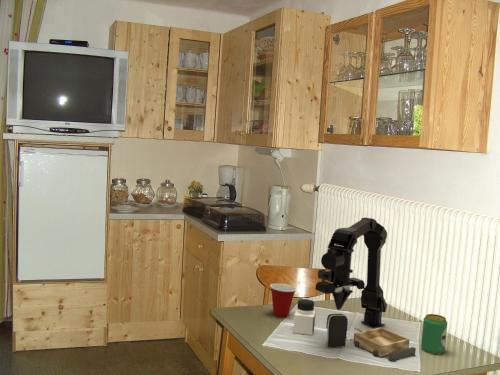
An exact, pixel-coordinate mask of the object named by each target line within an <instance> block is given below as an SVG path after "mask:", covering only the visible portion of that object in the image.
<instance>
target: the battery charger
mask: <svg viewBox="0 0 500 375" xmlns="http://www.w3.org/2000/svg"><path fill="white" fill-rule="evenodd" d="M348 320H349V319H348V317H347V316H346V315H345V314H343V313H330V314H328V315H327V317H326V323H325V325H326V326H325V327H326V330H327V332H326V341H325V342H326V345H325V346H327V347H326V348H345V347H346V346H347V345H346V342H347V339H346V337H347V334H348V324H349V323H348V322H349V321H348Z"/></svg>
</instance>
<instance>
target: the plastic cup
mask: <svg viewBox="0 0 500 375" xmlns="http://www.w3.org/2000/svg"><path fill="white" fill-rule="evenodd" d="M269 287H270V291H271V292H270V293H271V299H272V300H271V302H272V310H273V315H274V316H275V317H277V318H287V317H289V314H290V310H291V305H292V301H293V298H294V296H295V293H296V292H297V287H295V286H293V285H290V284H285V283H272V284H270V285H269Z"/></svg>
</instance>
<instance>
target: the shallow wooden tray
mask: <svg viewBox="0 0 500 375" xmlns="http://www.w3.org/2000/svg"><path fill="white" fill-rule="evenodd" d="M362 331H363V332H360V331H358V332H355V333H353V340H354V341H353V345H354V347H360V348H363V349H365V350H367V351H369V352H370V353H372V355H373V356H374V357H377V356H379V357H383V356H389V353H391V352H395V351H399V350H403V349H407V348H410V341H411V340H410V339H409V338H407V337H405V336H403V335H400V334H398V333H395V332H393V331H391V330H389V329H387V328H384V327H383V326H380V327H376V328H374V329H368V330H362Z"/></svg>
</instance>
